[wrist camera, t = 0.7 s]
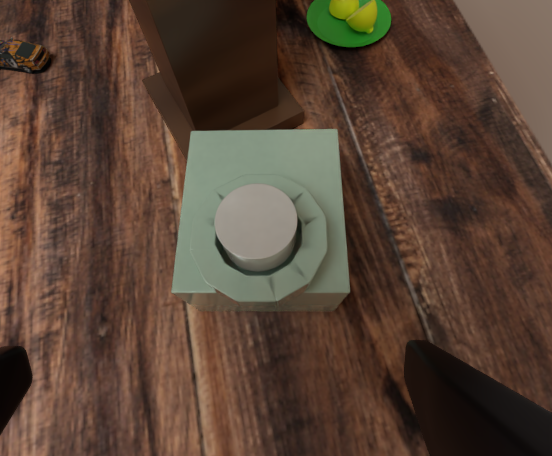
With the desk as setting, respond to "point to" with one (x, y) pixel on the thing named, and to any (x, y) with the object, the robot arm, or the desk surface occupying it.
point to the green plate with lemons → (349, 21)
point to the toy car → (23, 56)
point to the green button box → (310, 225)
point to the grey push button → (257, 226)
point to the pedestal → (215, 66)
